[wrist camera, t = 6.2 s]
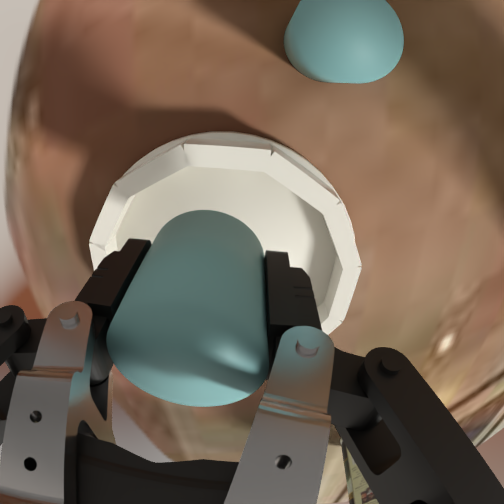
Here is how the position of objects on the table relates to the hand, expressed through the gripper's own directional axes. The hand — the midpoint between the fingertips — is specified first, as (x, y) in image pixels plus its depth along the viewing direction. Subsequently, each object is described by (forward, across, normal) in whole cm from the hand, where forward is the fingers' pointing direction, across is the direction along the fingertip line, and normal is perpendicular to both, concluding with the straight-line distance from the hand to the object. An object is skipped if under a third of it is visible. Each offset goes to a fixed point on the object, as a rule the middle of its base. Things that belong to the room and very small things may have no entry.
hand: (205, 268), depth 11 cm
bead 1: (0, 0, 0) cm, 0 cm away
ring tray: (+6, 0, +4) cm, 8 cm away
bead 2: (+7, -4, -9) cm, 12 cm away
